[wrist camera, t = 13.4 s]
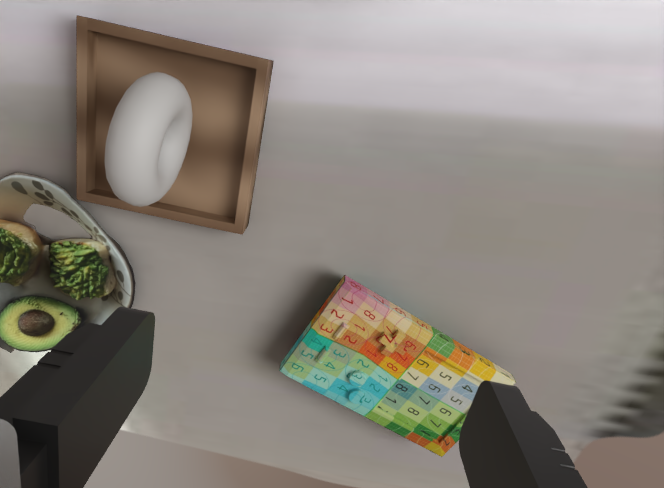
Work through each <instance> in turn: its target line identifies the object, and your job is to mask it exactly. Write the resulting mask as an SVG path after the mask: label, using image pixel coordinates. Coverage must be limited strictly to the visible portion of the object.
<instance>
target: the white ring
mask: <svg viewBox="0 0 664 488" xmlns="http://www.w3.org/2000/svg"><path fill="white" fill-rule="evenodd" d="M191 129H192V105H191V99H190V97H189V94H188V92H187V90H186V88H185V86H184V85H183V84H182V83H181V82H180V81H179V80H178V79H176V78H174V77H172V76H170V75H168V74H165V73H160V72H155V73H150V74H147V75H145V76H142V77H140V78H139V79H137V80H136V81H135V82H134V83H133V84H132V85H131V86H130V87H129V88H128V89H127V90H126V92H125V93H124V95H123V97H122V99H121V100H120V102H119V104H118V106H117V107H116V110H115V112H114V115H113V118H112V120H111V123H110V126H109V130H108V135H107V139H106V147H105V170H106V178H107V180H108V182H109V184H110V186H111V188H112V190H113V192H114V194H115V195H116V196H117V197H118V198H119V199H121V200H123V201H125V202H127V203H129V204H131V205H133V206H139V207H141V206H148V205H150V204H153V203H155V202H157V201H159V200H160V199H161V198H162V197H163V196H164V195H165V194H166V193H167V192H168V191H169V190H170V188H171V186H172V185H173V183H174V182H175V180H176V178H177V176H178V173H179V171H180V169H181V167H182V164H183V161H184V158H185V155H186V152H187V148H188V144H189V140H190V134H191Z"/></svg>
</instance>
